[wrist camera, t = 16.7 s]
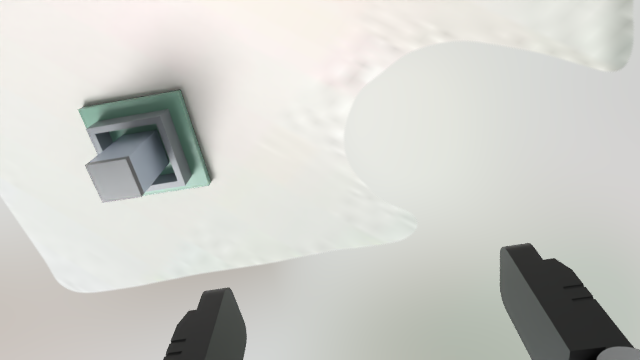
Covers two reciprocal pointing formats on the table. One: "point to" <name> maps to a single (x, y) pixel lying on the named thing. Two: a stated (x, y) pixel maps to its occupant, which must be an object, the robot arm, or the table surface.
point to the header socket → (149, 115)
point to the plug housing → (128, 166)
